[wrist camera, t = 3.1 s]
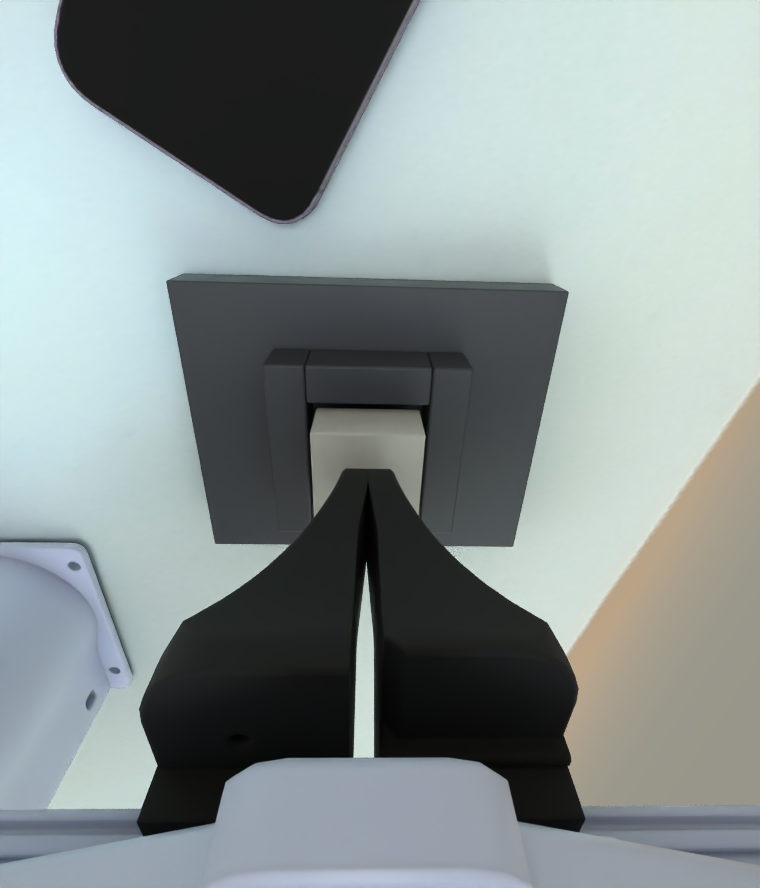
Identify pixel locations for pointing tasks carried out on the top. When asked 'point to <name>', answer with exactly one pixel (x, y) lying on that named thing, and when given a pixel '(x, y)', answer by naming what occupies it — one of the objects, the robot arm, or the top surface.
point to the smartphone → (236, 84)
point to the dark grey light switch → (364, 390)
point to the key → (366, 448)
